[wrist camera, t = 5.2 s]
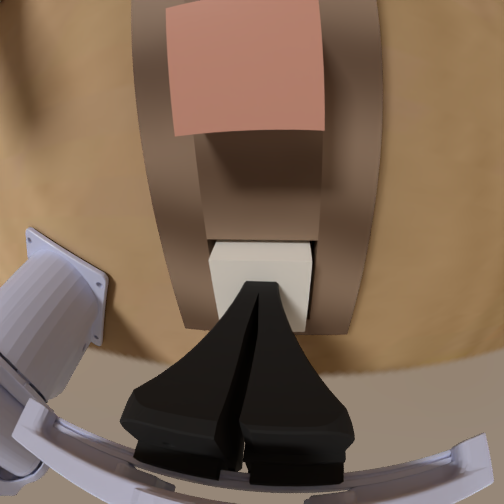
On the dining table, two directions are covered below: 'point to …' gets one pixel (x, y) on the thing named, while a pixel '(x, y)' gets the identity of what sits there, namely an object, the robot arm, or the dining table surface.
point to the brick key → (245, 66)
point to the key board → (268, 170)
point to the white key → (264, 273)
